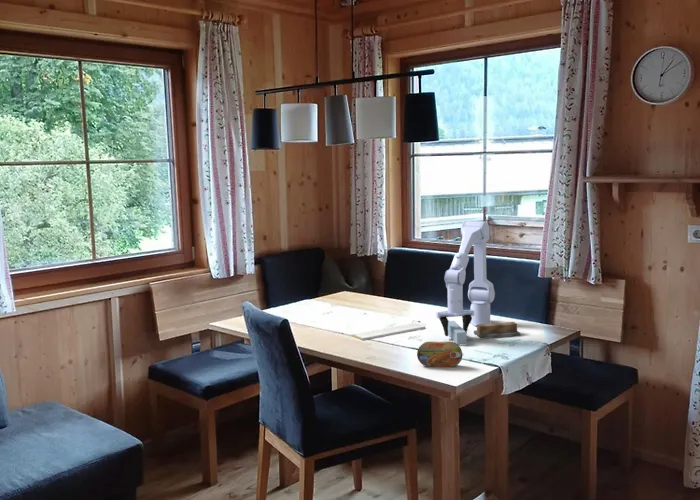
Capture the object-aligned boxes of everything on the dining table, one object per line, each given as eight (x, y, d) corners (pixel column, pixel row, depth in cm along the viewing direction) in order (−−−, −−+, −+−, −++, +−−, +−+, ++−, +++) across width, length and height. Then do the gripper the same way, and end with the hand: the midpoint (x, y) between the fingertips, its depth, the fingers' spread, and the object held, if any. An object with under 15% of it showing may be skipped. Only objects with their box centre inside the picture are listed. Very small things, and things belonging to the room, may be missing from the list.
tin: (417, 366, 228) (416, 342, 227) (417, 363, 231) (417, 339, 230) (462, 367, 225) (462, 343, 224) (462, 364, 228) (462, 340, 227)
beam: (445, 333, 269) (445, 321, 268) (454, 332, 269) (454, 320, 269) (457, 345, 251) (456, 332, 251) (466, 345, 252) (466, 332, 251)
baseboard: (349, 336, 271) (362, 342, 262) (349, 329, 270) (362, 334, 262) (411, 324, 286) (425, 329, 277) (411, 318, 285) (425, 323, 277)
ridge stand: (480, 338, 259) (480, 328, 258) (473, 333, 267) (473, 323, 266) (520, 335, 261) (520, 325, 260) (512, 330, 269) (512, 320, 268)
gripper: (439, 303, 253) (440, 338, 255) (476, 301, 255) (477, 336, 257) (434, 299, 260) (435, 334, 262) (470, 297, 262) (471, 331, 264)
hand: (455, 334), depth 260 cm, fingers open, 7 cm apart
